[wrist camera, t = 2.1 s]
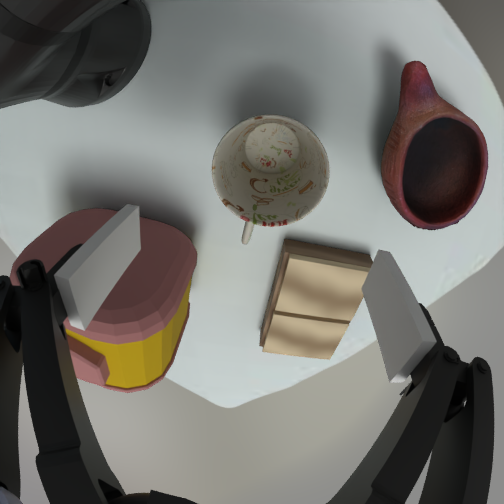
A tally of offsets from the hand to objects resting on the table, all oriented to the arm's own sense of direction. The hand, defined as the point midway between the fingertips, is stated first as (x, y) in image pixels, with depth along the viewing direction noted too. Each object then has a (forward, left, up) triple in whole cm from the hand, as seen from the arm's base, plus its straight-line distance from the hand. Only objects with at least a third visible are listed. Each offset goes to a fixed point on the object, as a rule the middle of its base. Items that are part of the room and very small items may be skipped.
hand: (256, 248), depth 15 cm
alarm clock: (+13, -15, -17) cm, 26 cm away
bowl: (-6, +15, -17) cm, 23 cm away
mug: (0, 0, -17) cm, 17 cm away
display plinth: (+16, +9, -16) cm, 25 cm away
